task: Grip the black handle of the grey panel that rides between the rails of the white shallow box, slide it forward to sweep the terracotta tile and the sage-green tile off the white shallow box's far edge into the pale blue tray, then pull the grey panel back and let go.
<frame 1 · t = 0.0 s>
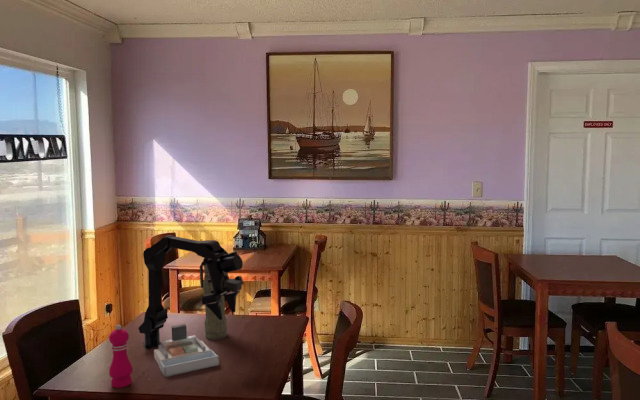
hand: (227, 315, 195), 15 cm above the table, tool pointing down, fingers open, 9 cm apart
white shallow box: (182, 357, 197), on the table
thermos: (216, 336, 219), on the table
pepper mill: (121, 384, 176), on the table
grey panel: (179, 336, 199), point 7 cm above the table, slide at 0.0 cm
tray: (189, 366, 188), on the table
sage tile: (190, 350, 196), point 3 cm above the table, touching white shallow box
terracotta tile: (176, 352, 193), point 3 cm above the table, touching white shallow box
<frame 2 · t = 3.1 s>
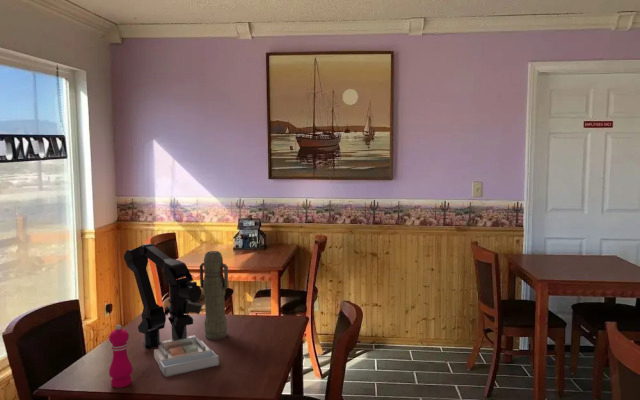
hand: (179, 337, 199), 7 cm above the table, tool pointing down, fingers closed on grey panel, 2 cm apart
grey panel: (179, 336, 199), point 7 cm above the table, slide at 0.0 cm, touching gripper
everything else where it was.
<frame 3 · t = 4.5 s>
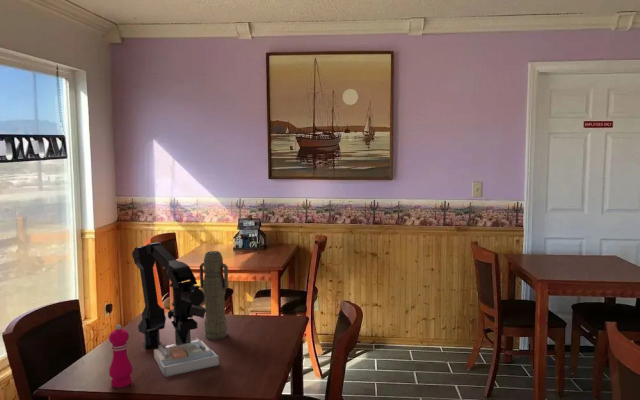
hand: (183, 341, 194), 7 cm above the table, tool pointing down, fingers closed on grey panel, 2 cm apart
grey panel: (183, 340, 194), point 7 cm above the table, slide at 5.3 cm, touching gripper, sage tile, terracotta tile
sage tile: (192, 353, 193), point 3 cm above the table, touching grey panel
terracotta tile: (178, 356, 190), point 3 cm above the table, touching grey panel
everything else where it was.
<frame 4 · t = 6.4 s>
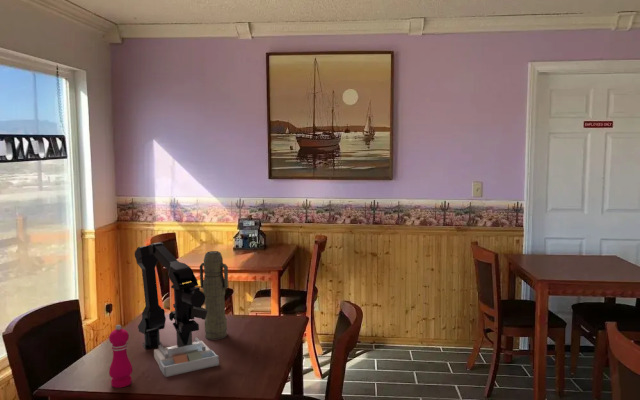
hand: (184, 343, 192), 7 cm above the table, tool pointing down, fingers closed on grey panel, 2 cm apart
grey panel: (184, 342, 192), point 7 cm above the table, slide at 7.4 cm, touching gripper
sage tile: (194, 359, 191), point 2 cm above the table, tilted 28°, touching tray
terracotta tile: (180, 362, 188), point 2 cm above the table, tilted 28°, touching tray
everything else where it was.
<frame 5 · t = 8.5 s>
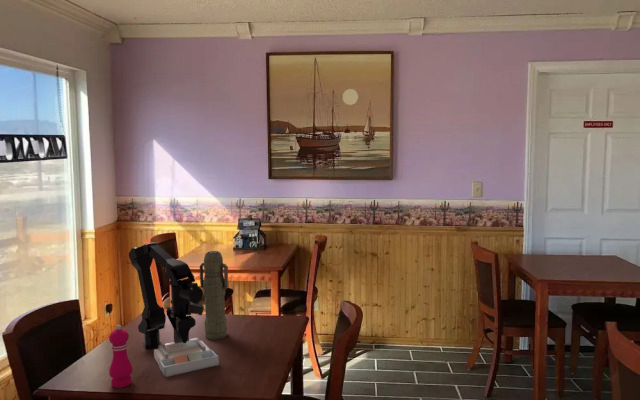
hand: (181, 339, 196), 7 cm above the table, tool pointing down, fingers open, 9 cm apart
grey panel: (181, 338, 196), point 7 cm above the table, slide at 3.0 cm
everything else where it was.
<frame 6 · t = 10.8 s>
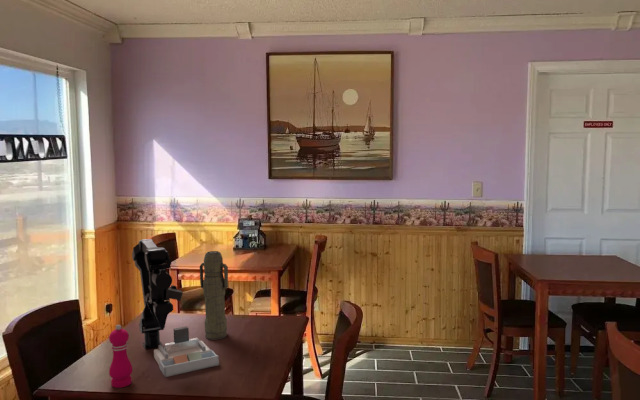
hand: (159, 324, 194), 13 cm above the table, tool pointing down, fingers open, 9 cm apart
nothing on the table moved.
at the end: terracotta tile inside the target area (3.0 cm from its centre), point 1.5 cm above the table; sage tile inside the target area (3.0 cm from its centre), point 1.5 cm above the table; grey panel slide at 3.0 cm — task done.
